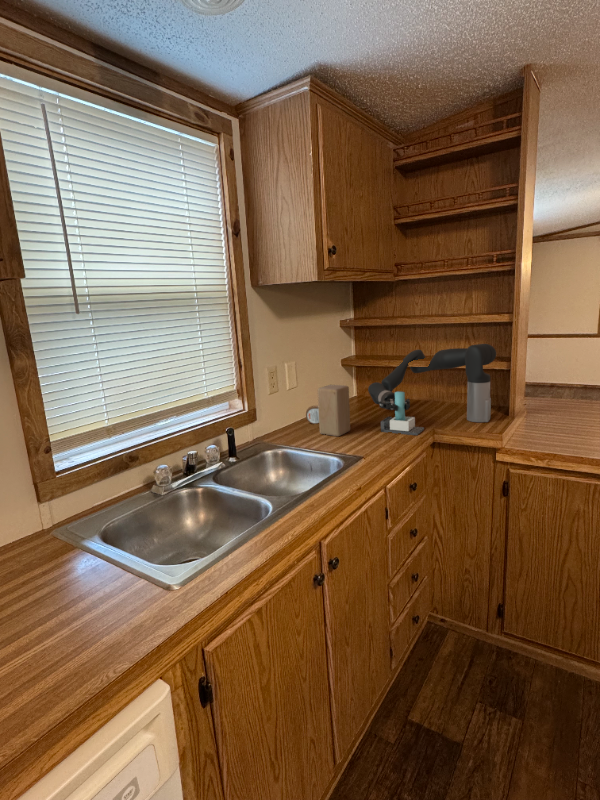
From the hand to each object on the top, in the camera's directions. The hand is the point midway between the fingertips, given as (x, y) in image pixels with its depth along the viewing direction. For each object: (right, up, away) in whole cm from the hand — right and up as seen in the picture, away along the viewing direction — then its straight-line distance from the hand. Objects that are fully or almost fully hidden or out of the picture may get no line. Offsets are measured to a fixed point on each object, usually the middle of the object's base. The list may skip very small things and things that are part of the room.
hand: (402, 407), depth 184 cm
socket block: (+1, -9, +4) cm, 9 cm away
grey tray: (+1, -10, +4) cm, 11 cm away
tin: (-32, -8, +24) cm, 40 cm away
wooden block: (-27, -11, +7) cm, 30 cm away
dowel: (0, -7, +4) cm, 8 cm away
